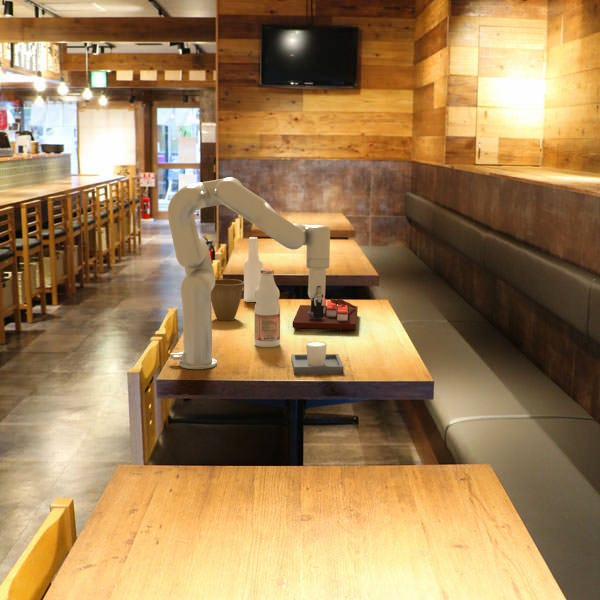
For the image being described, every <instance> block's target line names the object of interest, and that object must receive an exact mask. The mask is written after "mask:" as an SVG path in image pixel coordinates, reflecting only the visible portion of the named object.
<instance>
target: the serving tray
mask: <svg viewBox="0 0 600 600" xmlns="http://www.w3.org/2000/svg"><path fill="white" fill-rule="evenodd" d="M290 357H291V366H292V371H293V375H294V376H295V375H298V376H299V375H300V376H301V375H344V369H345V367H344V364H343V362H342V361H341V360H342V359H341V357H340V355H339V354H338V353H326V356H325V365H323V366H310V365H308V360H307V353H305V354H304V353H303V354H300V353H299V354H296V353H295V354H293V353H292V354H291V356H290Z"/></svg>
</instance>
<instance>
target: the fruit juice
mask: <svg viewBox="0 0 600 600" xmlns="http://www.w3.org/2000/svg"><path fill="white" fill-rule="evenodd" d="M274 274H275V270H274V269H272V268H263V269H262V270H261V280H260V283H259V285H258V287H257V289H256V290H255V298H256V303H254V304H255V305H254V311H253V312H254V345H255V346H257V347H260V348H274V347H275V348H276V347H279V346H280V345H281V344H280V343H281V306H280V305H281V304H280V302H279V301H280V300H279V299H280V296H281V295H280V290H279V288H278V286H277V284H276V282H275V278H274Z"/></svg>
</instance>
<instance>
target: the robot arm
mask: <svg viewBox="0 0 600 600" xmlns="http://www.w3.org/2000/svg"><path fill="white" fill-rule="evenodd" d="M216 206H225V207H226V208H227V209H229V210H230V211H232V212H235V214H237V215H239V216H241V218H244V219H245V220H246V221H248V222H249V223H251V224H252V225H253V226H254V227H256V228H257V229H259V230H260V231H261V232H263V233H264V234H265V235H267V236H268V237H269V238H271V239H273V240H274V241H275V242H276V243H278V244H280V245H282V246H283V247H285V248H287V249H289V250H298V249H300V248H302V247H303V246H306V254H305V255H306V258H305V259H306V260H305V261H306V262H305V263H306V266H305V268H306V269H308V281H307V282H308V285H307V287H308V288H307V295H308V298H309V299H310V305H311V312H313V317H314V318H323V309H324V306H323V299H326V298H325V296H326V280H327V279H326V277H327V275H326V273H327V269H328V270H329V269H330V263H331V262H330V259H331V257H330V254H331V253H330V252H331V251H330V249H331V228H330V227H329V225H325V224H311V225H310V224H303V223H292V222H290V221H289V220H287V218H284V217H283V216H282V215H280V214H279V213H278V212H276V211H275V209H274V208H272V205H270V203H269V202H267V201H266V200H265V199H264V198H262V197H261V196H259V195H257V194H256V193H254V192H253V191H251V190H250V189H248V188H247V187H245V186H243V184H242V182H241V181H240V180H239V179H238V178H235V177H231V176H230V177H229V176H228V177H224V178H220V179H219V178H218V179H214V180H209V181H203V182H196V183H190V184H187V185H185V186H183V187H182V188H180V189H179V190H178V191H176V192H175V194H173V196H172V197H171V199H170V200H169V204H168V207H167V219H168V223H169V228H170V232H171V238H172V243H173V248H174V251H175V252H174V253H175V256H176V258H175V259H176V261H177V263H178V264H179V265H180V266H181V267H182V268H184V271H185V277H183V280H182V282H181V286H180V297H181V304H182V307H181V308H182V329H183V331H182V333H183V334H182V337H183V338H182V339H183V344H182V345H183V350H182V351H180V352H177V353H176V352H170V353H169V356H170V357H169V358H170V359H172V360H173V361H174V360H175V361H177V360H180V361H178V365H179V367H181V368H183V369H187V370H188V369H189V370H206V369H211V368H214V367H215V366H217V365H218V360H217V359H215V358H213V320H212V319H213V318H212V317H213V316H212V315H213V314H212V303H211V291H212V290H213V288H214V286H215V280H216V275H215V272H214V271H215V270H214V265H213V262H212V258H211V254H210V253H211V252H210V250H209V249H210V248H209V247H208V244H207V243H206V241H204V239H203V238H200V236H199V231H198V226H197V223H196V220H195V212H196V211H199V210H201V209H204V208H209V207H216Z"/></svg>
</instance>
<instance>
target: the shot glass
mask: <svg viewBox="0 0 600 600" xmlns="http://www.w3.org/2000/svg"><path fill="white" fill-rule="evenodd" d="M305 347H306V354H307V360H308V365H310V366H323V365H325V356H326V354H327V342H322V341H309V342H307V343H306V346H305Z"/></svg>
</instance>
